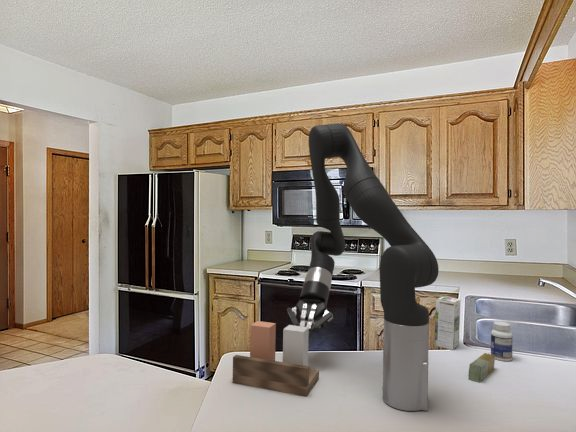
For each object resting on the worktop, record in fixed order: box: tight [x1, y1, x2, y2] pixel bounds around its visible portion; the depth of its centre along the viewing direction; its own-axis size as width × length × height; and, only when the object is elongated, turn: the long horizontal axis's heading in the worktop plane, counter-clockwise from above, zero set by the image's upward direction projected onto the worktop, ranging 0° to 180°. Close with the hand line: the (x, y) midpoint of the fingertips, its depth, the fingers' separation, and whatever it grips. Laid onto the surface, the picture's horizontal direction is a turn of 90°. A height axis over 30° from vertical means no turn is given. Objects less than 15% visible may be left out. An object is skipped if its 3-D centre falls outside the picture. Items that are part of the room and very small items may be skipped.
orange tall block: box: [249, 320, 277, 361], centre depth 95 cm, size 5×4×10 cm
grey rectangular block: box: [282, 324, 309, 366], centre depth 92 cm, size 5×4×10 cm
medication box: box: [468, 352, 496, 383], centre depth 98 cm, size 12×3×4 cm, turn 137°
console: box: [231, 354, 320, 397], centre depth 92 cm, size 18×10×6 cm, turn 70°
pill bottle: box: [490, 321, 514, 362], centre depth 109 cm, size 5×5×10 cm
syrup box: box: [433, 296, 461, 351], centre depth 119 cm, size 6×6×14 cm
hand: (302, 344), depth 97 cm, fingers closed
